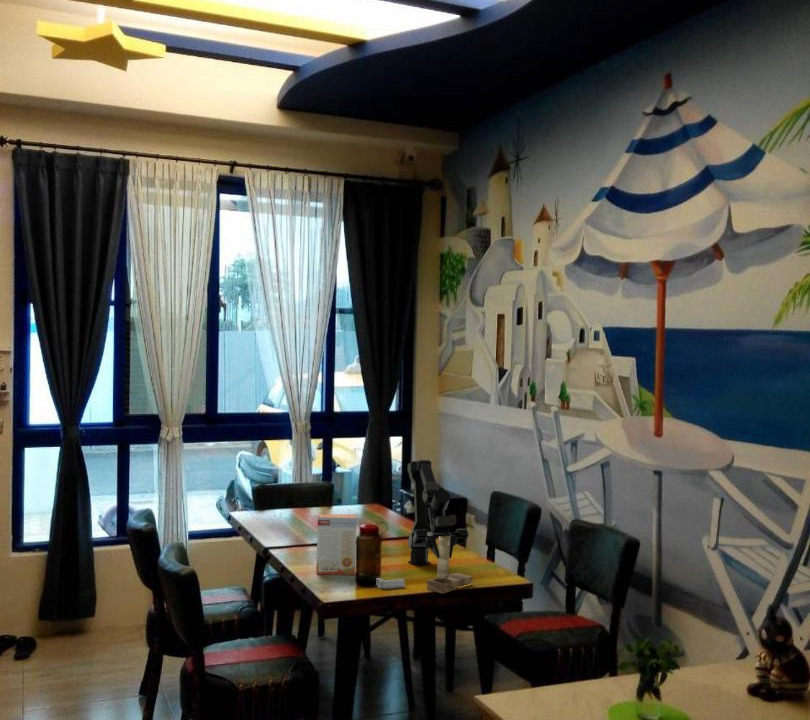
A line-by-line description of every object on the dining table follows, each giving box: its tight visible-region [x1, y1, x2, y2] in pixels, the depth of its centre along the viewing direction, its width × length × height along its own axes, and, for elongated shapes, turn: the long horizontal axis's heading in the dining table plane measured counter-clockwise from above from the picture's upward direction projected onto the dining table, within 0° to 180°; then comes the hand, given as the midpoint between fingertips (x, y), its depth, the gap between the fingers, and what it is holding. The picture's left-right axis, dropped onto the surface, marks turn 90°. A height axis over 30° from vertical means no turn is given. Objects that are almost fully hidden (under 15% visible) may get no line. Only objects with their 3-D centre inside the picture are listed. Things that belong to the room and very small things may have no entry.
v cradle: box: [375, 577, 406, 590], centre depth 296 cm, size 7×12×2 cm, turn 70°
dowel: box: [436, 536, 450, 579], centre depth 295 cm, size 4×4×14 cm
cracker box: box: [315, 513, 358, 576], centre depth 310 cm, size 14×6×21 cm, turn 92°
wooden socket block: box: [426, 572, 473, 594], centre depth 298 cm, size 16×7×3 cm, turn 137°
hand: (444, 557), depth 294 cm, fingers closed on dowel, 4 cm apart
